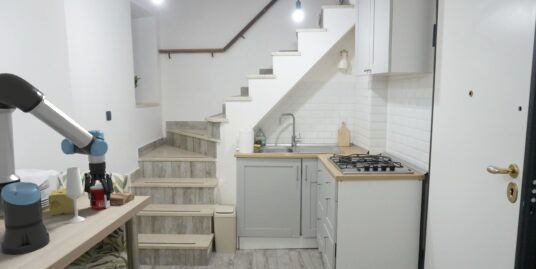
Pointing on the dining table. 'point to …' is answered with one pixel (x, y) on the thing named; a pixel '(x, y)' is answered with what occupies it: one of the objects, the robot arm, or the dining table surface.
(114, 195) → the plinth
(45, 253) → the dining table surface
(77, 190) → the champagne flute
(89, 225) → the dining table surface
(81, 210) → the dining table surface
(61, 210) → the cheese
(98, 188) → the canned food
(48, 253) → the dining table surface
